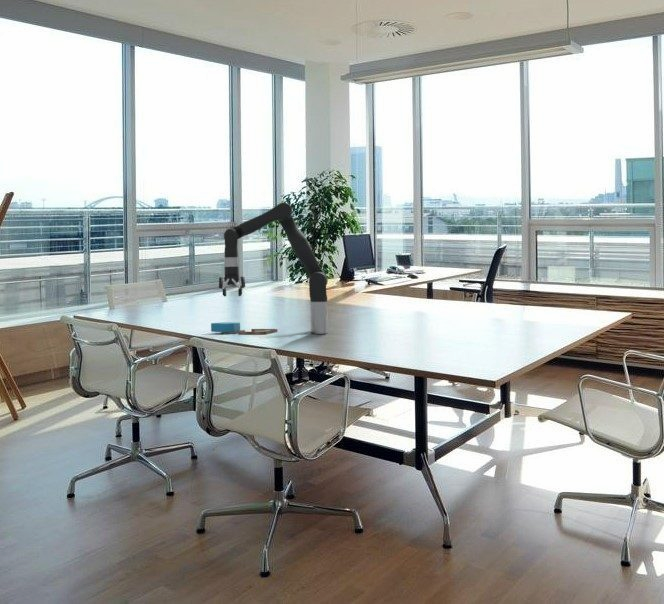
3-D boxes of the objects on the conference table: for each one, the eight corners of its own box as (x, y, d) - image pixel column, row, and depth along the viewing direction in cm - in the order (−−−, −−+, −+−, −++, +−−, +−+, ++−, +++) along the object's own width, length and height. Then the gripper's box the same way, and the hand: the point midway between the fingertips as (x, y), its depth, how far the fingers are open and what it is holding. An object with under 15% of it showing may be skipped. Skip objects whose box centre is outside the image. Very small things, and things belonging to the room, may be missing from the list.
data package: (227, 322, 403) (241, 322, 395) (227, 330, 403) (241, 331, 395) (209, 323, 394) (223, 323, 386) (209, 331, 395) (224, 332, 387)
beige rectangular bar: (274, 334, 395) (273, 330, 395) (255, 335, 392) (255, 331, 392) (272, 333, 398) (272, 330, 398) (254, 334, 395) (254, 330, 395)
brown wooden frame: (278, 331, 400) (277, 328, 400) (265, 334, 380) (265, 331, 380) (252, 331, 403) (252, 328, 403) (238, 334, 384) (238, 331, 384)
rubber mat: (245, 332, 401) (245, 330, 401) (235, 334, 388) (235, 332, 388) (231, 331, 403) (231, 330, 403) (221, 334, 390) (221, 332, 390)
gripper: (246, 265, 396) (247, 295, 397) (221, 266, 400) (222, 296, 400) (241, 265, 389) (242, 296, 389) (216, 266, 392) (217, 296, 393)
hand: (232, 296), depth 395 cm, fingers open, 8 cm apart
